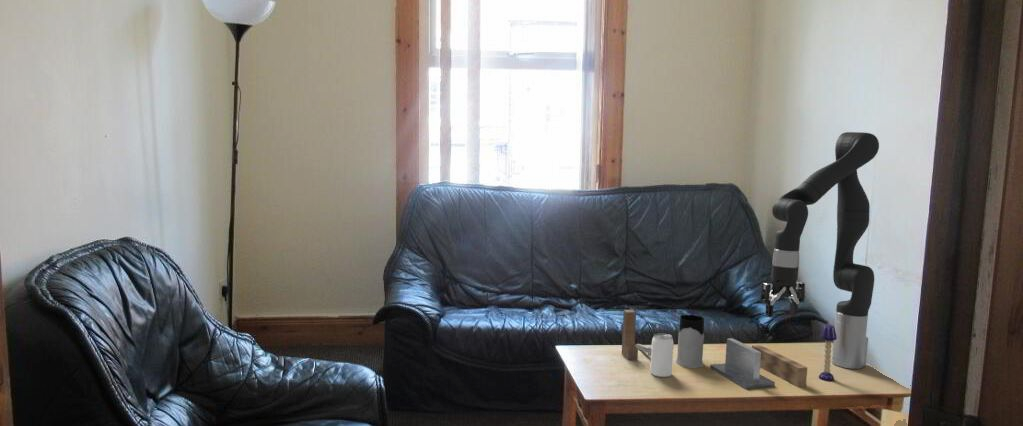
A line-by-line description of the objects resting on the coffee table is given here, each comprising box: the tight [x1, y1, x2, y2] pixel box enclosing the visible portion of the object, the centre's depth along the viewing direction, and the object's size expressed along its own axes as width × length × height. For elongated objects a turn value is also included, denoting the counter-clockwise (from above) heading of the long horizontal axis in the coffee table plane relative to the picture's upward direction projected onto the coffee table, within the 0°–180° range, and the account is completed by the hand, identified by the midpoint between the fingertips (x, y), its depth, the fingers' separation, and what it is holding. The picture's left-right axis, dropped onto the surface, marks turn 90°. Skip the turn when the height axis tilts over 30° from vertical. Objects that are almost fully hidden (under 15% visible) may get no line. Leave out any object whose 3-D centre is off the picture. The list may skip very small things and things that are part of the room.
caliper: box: [635, 343, 652, 357], centre depth 224 cm, size 20×1×6 cm, turn 7°
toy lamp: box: [818, 324, 837, 382], centre depth 206 cm, size 5×5×17 cm
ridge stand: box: [709, 337, 776, 390], centre depth 206 cm, size 10×18×10 cm, turn 17°
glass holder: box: [675, 314, 705, 369], centre depth 220 cm, size 9×14×15 cm, turn 157°
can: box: [649, 332, 675, 378], centre depth 206 cm, size 6×6×12 cm
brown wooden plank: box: [751, 344, 808, 388], centre depth 210 cm, size 22×3×6 cm, turn 17°
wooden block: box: [621, 309, 639, 361], centre depth 222 cm, size 7×3×15 cm, turn 10°
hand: (781, 316), depth 208 cm, fingers open, 8 cm apart
